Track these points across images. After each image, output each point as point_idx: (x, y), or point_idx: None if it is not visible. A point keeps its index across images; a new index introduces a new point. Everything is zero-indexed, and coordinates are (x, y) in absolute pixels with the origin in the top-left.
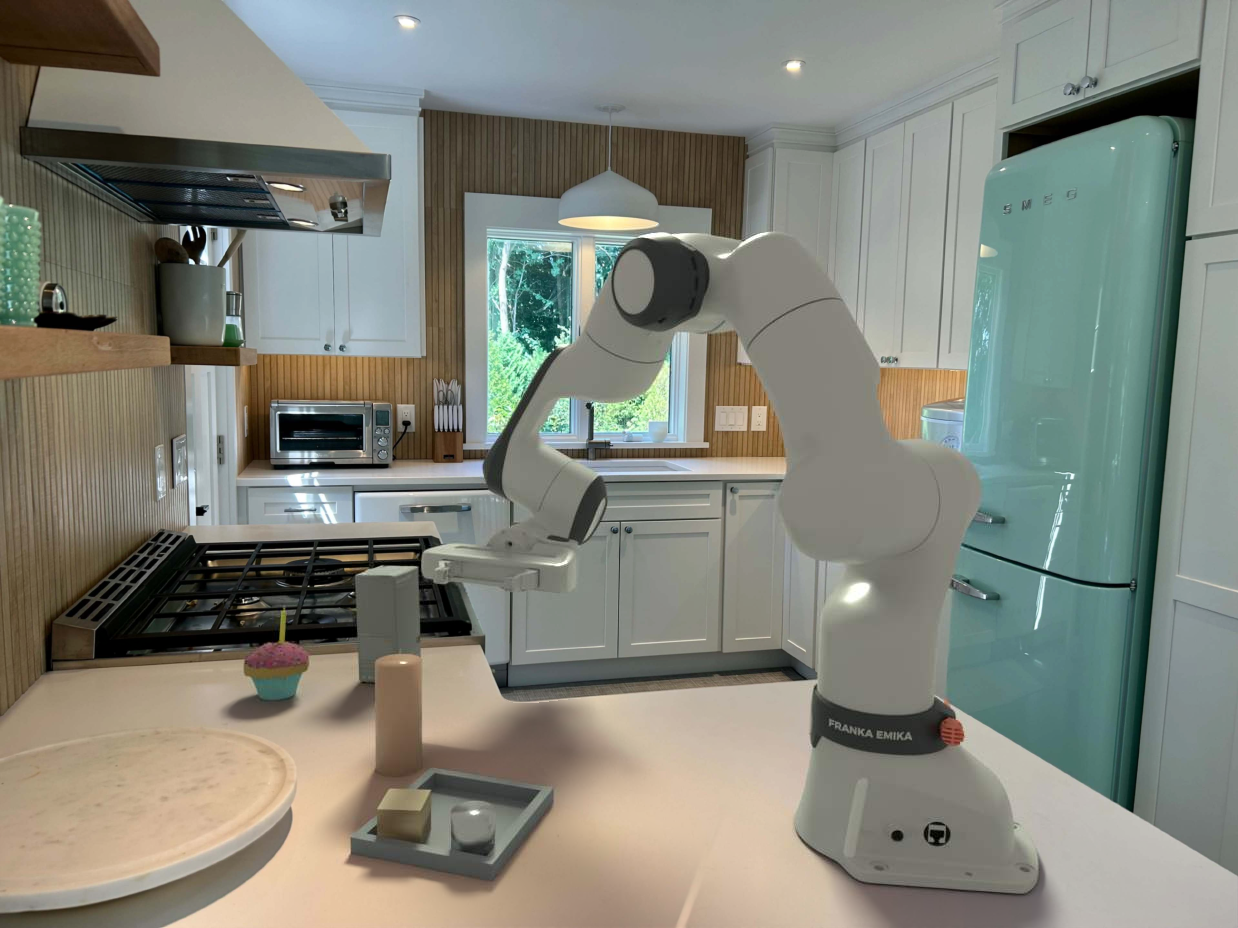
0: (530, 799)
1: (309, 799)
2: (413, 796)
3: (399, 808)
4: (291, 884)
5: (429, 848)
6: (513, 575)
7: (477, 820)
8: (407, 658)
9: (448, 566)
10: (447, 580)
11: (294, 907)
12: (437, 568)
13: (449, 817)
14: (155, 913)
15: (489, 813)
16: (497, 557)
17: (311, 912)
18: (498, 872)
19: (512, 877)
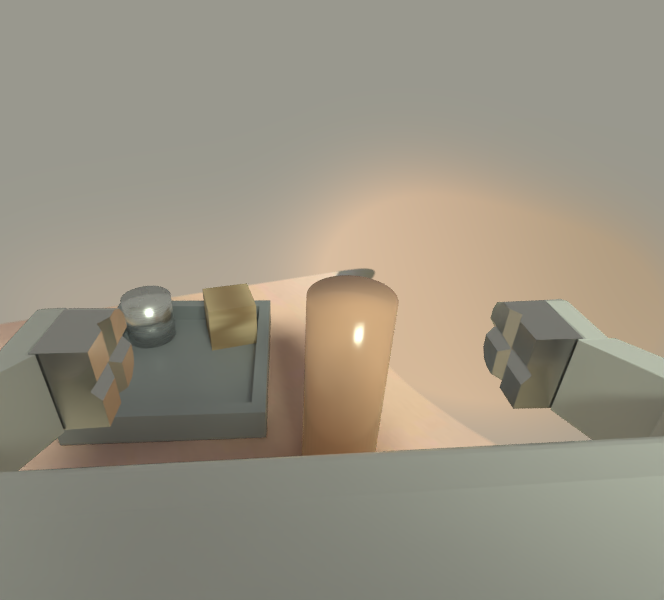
0: None
1: (394, 379)
2: (221, 301)
3: (225, 287)
4: (298, 299)
5: (188, 303)
6: (60, 339)
7: (137, 289)
8: (346, 307)
9: (661, 424)
10: (504, 376)
11: (277, 287)
12: (567, 308)
13: (200, 371)
14: (358, 270)
15: (126, 297)
16: (302, 522)
17: (262, 286)
18: None
19: None
